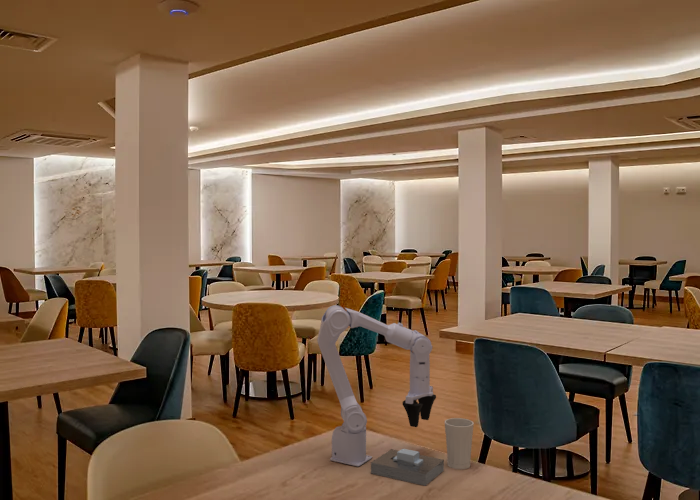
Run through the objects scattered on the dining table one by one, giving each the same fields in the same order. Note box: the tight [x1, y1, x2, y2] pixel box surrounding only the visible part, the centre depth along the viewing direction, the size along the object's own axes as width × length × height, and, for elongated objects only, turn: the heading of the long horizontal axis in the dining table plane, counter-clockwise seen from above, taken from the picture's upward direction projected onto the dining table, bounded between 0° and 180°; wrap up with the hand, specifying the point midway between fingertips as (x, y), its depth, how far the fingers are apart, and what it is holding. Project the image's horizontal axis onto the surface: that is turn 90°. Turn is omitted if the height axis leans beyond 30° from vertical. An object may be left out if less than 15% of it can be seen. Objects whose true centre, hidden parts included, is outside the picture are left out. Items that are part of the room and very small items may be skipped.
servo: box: [393, 448, 423, 466], centre depth 169 cm, size 8×3×6 cm, turn 58°
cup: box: [444, 417, 475, 470], centre depth 174 cm, size 8×8×12 cm
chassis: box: [370, 448, 445, 486], centre depth 169 cm, size 16×12×3 cm
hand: (419, 422), depth 180 cm, fingers open, 7 cm apart
